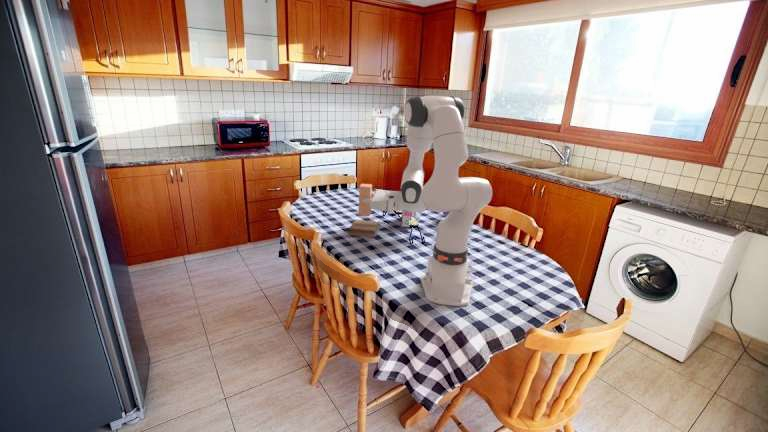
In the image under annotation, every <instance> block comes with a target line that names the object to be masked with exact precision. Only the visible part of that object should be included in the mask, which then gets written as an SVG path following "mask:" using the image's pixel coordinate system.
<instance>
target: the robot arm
mask: <svg viewBox="0 0 768 432" xmlns="http://www.w3.org/2000/svg"><path fill="white" fill-rule="evenodd" d="M403 111H404V113H403V114H404V120H405V121H406V123H407V124H408V125H407V131H406V132H407V133H406V148H407V149H408V150H409V152H410V153H409V156H408V157H409V158H408V163H407V165H406V166H405V167H404V169H403V172H402V178H401V184H400V190H386V189H376V191H375V193H373V192H372V199H368V198H362V202H366V203H368V204H370V208H371V210H375V211H382V212H386V213H393V212H396V211H399V212H400V211H402V210H406V211H409V212H416V213H423V212H425V211H427V210H428V211H431V212H437V213H439V212H440V213H443V212H448V211H450V212H449V214H448V215H447V216H446V217H444V218H443V219H441V220H440V221H439V222H438V224H437V226H436V235H435V243H434V245H433V249H432V251H433V252H432V256H430V257H429V258H428V260H427V266H426V273H425V275H421V277H420V282H421V285H422V289H423V292H424V295H425V296H424V297H425V298H426V300H427V301H429V302H431V303H435V304H439V305H444V306H453V307H462V306H463V307H464V306H467V305H469V304H470V299H471V297H472V296H471V295H472V291H473V286H474V282H473V281H472V278H470V277H469V275H471V271H472V270H471V269H470V265H471V263H470V262H469V261H468V254H469V250H468V249H469V248H468V243H469V238H470V233H471V232H470V231H471V228H472V226H473V224H474V222H475V219H476V218H477V217H478V215H479V214H480V212H481V211H482V210H483V209H484V208H485V207H486V206H487V205H488V204H489V203H491V201H492V198H493V188H492V184H491V183H490V182H489V181H488V180H487V179H486V178H482V177H474V176H464V177H459V171H460V170H459V169H460V167H461V166H463V165H464V164H465V163H467V160H468V158H469V150H468V149H469V148H468V143H467V136H466V131H465V126H464V121H463V119H464V116H465V105H464V102H463V101H462V99H461V98H459V97H457V96H453V95H450V96H445V95H444V96H442V95H424V96H413V97H411V98H408V99H407V101H406V103H405V105H404V110H403ZM432 146H433V152H434V153H433V154H434V168H433V172H432V174H431V177H430V178H429V179H428V180H427V182H426V183H424V179H425V177H426V176H425V175H426V173H425V170H424V169H425V168H424V167H423V166H424V165H423V163H424V157H425V154H426V153H427V152H429V151H430V150H431V148H432Z"/></svg>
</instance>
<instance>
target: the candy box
mask: <svg viewBox="0 0 768 432" xmlns="http://www.w3.org/2000/svg"><path fill="white" fill-rule="evenodd" d="M401 211H402V212H401V225H400V226H401V228H406V229H407V228H409V224H408V220H409V218H410V217H413V218H415V219H416V218H417V212H409V211H406V210H401ZM416 220H417V219H416ZM409 229H410V228H409Z"/></svg>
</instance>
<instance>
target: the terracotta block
mask: <svg viewBox="0 0 768 432" xmlns="http://www.w3.org/2000/svg"><path fill="white" fill-rule="evenodd" d="M372 193H373V184H372V183H360V185H359V189H358V216H362V217H370V216H371V214H372V209H371V208H370V204H368V203H366V202H362V198H368V199H372Z"/></svg>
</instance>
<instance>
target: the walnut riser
mask: <svg viewBox="0 0 768 432" xmlns="http://www.w3.org/2000/svg"><path fill="white" fill-rule="evenodd" d="M379 224H380V222H378V221H370V220H369V221H367V220H357V219H354V221H353V222H352V224H351V225H350V227H349V230H348V231H349V233H348V235H349V236H359V237H366V238H367V237H370V238H375V237H376V235H377V233H378V231H379V226H380V225H379Z"/></svg>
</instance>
